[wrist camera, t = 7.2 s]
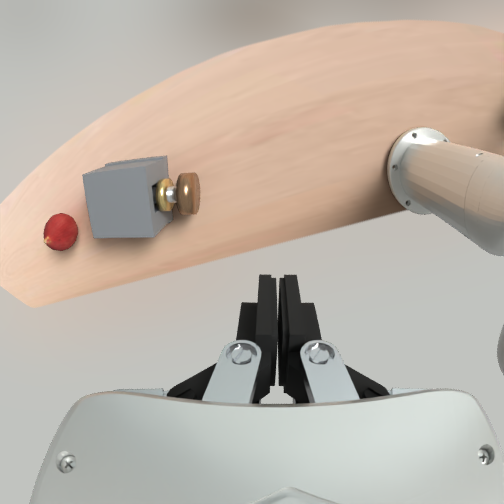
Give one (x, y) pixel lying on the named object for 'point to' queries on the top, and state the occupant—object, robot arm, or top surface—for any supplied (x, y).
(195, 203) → the shaft
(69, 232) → the onion
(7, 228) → the top surface
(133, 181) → the housing
